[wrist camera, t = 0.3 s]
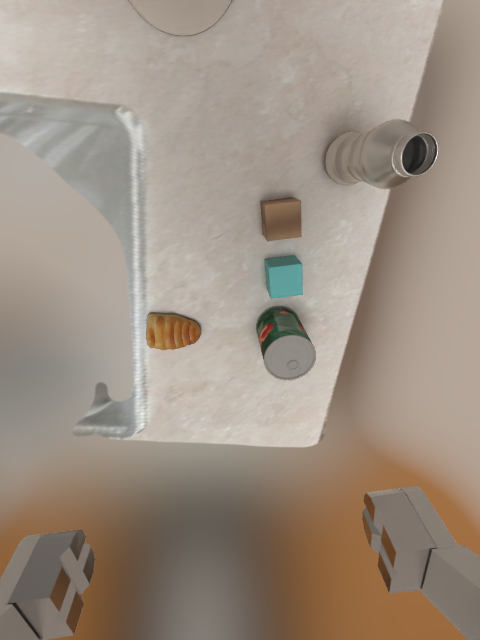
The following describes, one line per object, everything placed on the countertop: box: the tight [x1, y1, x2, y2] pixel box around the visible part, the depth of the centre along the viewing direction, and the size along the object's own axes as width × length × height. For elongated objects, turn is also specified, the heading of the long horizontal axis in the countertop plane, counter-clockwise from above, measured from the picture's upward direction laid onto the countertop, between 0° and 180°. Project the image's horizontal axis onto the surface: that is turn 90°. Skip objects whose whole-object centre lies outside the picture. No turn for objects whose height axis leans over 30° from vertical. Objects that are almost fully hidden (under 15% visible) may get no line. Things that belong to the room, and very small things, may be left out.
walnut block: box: [261, 198, 301, 241], centre depth 48 cm, size 5×5×5 cm
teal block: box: [265, 256, 303, 299], centre depth 52 cm, size 5×5×5 cm
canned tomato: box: [256, 306, 316, 380], centre depth 54 cm, size 8×8×11 cm
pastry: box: [146, 313, 201, 350], centre depth 56 cm, size 9×7×4 cm
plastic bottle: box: [325, 119, 439, 189], centre depth 39 cm, size 6×7×20 cm
